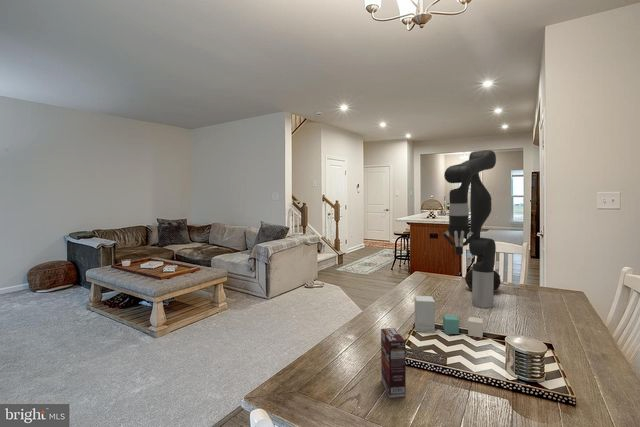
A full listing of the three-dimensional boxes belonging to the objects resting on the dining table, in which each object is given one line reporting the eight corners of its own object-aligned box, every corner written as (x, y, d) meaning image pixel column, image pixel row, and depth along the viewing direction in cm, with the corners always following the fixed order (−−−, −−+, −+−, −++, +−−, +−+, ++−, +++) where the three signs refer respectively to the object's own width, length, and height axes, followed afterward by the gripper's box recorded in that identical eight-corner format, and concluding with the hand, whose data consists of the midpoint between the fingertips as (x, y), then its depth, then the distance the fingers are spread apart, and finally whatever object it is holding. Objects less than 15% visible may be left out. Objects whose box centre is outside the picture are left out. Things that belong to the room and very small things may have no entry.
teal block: (442, 329, 133) (442, 314, 132) (455, 329, 132) (455, 315, 132) (445, 334, 128) (445, 319, 127) (458, 335, 127) (459, 319, 127)
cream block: (468, 331, 130) (469, 316, 130) (482, 333, 128) (483, 318, 128) (468, 336, 126) (468, 321, 125) (482, 338, 123) (482, 323, 123)
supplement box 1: (380, 380, 96) (380, 328, 96) (396, 379, 97) (396, 327, 96) (389, 398, 88) (388, 341, 87) (406, 397, 88) (406, 340, 87)
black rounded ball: (501, 297, 172) (502, 244, 170) (464, 293, 179) (465, 243, 178) (499, 288, 188) (500, 240, 186) (465, 285, 196) (465, 238, 194)
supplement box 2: (435, 333, 129) (435, 301, 128) (415, 331, 130) (415, 300, 130) (432, 325, 136) (432, 296, 135) (414, 324, 138) (414, 295, 137)
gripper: (475, 213, 137) (475, 254, 138) (441, 213, 141) (442, 253, 143) (477, 214, 130) (477, 257, 131) (441, 215, 134) (442, 256, 136)
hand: (459, 255), depth 137 cm, fingers closed
